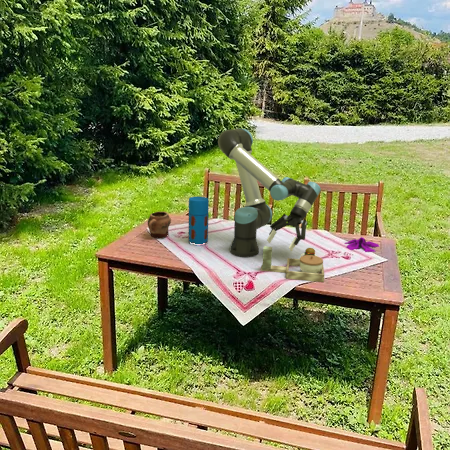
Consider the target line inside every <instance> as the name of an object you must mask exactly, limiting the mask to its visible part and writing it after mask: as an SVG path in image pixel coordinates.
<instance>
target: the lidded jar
mask: <svg viewBox="0 0 450 450" xmlns="http://www.w3.org/2000/svg"><path fill="white" fill-rule="evenodd" d="M299 259H300V266H299V268H300V272H306V273H317V274H321V273H320V271H321V269H322V265H323V266H324V260H323V258H322V257H320V256H319V255H317V256H313V255H302V256H301V255H300V257H299Z"/></svg>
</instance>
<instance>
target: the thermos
mask: <svg viewBox="0 0 450 450" xmlns="http://www.w3.org/2000/svg"><path fill="white" fill-rule="evenodd" d="M209 204H210V203H209V198H208V197H205V196H191V197H189V198H188V242H189V241H190V242H191V243H195V244H203V243H207V242H209V212H210V211H209V206H210V205H209ZM207 244H208V243H207Z"/></svg>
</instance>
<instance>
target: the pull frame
mask: <svg viewBox="0 0 450 450" xmlns="http://www.w3.org/2000/svg"><path fill="white" fill-rule="evenodd" d="M272 256H273V246H267V245H266V246H265V245H264V246H263V248H262V264H261V267H260V271H262V272H271V273H272V272H273V273H284V274H285V279H287V280H295V281H296V280H297V281H307V282H319V283H324V282H325V269H324V268H325V267H324V264H323V265H322V269H321V271H320V273H319V274H317V273H306V272H302V271H296V270H295V271H294V270H290V267H291V266H292V267H300V258H291V257H290V258H289V257H287V259H286V261H287V262H286V266H284V265H283V266H281V265H272Z"/></svg>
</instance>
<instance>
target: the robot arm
mask: <svg viewBox="0 0 450 450" xmlns="http://www.w3.org/2000/svg"><path fill="white" fill-rule="evenodd" d="M217 139H218V140H217V143H218V148H219V149H220V151H221V152H222V154H224V155H225V156H226V157H227V158H228V159H229V160H234V162H235V164H236V165H235V166H236V168H237V173H238V176H239V180H240V183H241V188H242V190H243V194H244V198H245V204H244V206H241V207H238V208H237V209H236V210H235V213H234V223H233V224H234V227H233V229H234V231H233V234H234V235H233V236H234V237H233V239H232V242H231V245H230V249H229V252H230V254H232V255H233V256H236V257H240V258H241V257H242V258H251V257H256V256H257V255H259V252H260V247H259V244H258V240H257V230H258V229H260V228H263V227H265V226H267V225H268V224H269V223H270V221H271V220H272V217H273V211H272V208H271V207H270V206H269V205H268V204H267V203H266V202H267V201H266V200H265V199H264V198H263V197H262V195H261V194H262V193H261V191H260V187H259V183H260V184H261V185H262V186H264V188H265V189H267V190H268V192H269V194H270V196H271V198H272V199H273V200H275V201H278V202H279V201H283V200H285V199H287V198H289V197H291V196H293V197H296V198H298V199H297V200H296V202H295V204H294V206H293V207H292V209H291V211H290V212H289V214H288V215H287V214H286V213H283V215H282V216H280V217H279V218H278V219H277V220H276V221H274V222H273V223H272V224H270V225H269V227H270V229H271V230H270V231H269V233H268V237H267V239H266V242H267V243H269V244H271V243H272V242H273V241H272V240H273V239H274V238H275V236H276V235H277V231H280V230H281V229H283V228H285V227H288V226H290V227H293V228H294V229H295V232H296V236H295V237H294V238H293V240H292V241H291V243H290V245H289V246H288V249H289V251H291V252H293V250H294V248H295V247H296V246H298V245H299V243H300V241H301V240H303V241H305V240H306V234H307V233H306V232H307V231H306V230H307V225H308V221H307V220H306V219H305V218H306V217H307V215H308V213H309V211H310V210H311V208H312V206H313V205H314V203H315V202H316V200H317V198H318V197H319V194H320V193H321V190H322V189H321V186H320V185H319V184H318V183H317V182H315V181H308V183H306V184H305V183H302V182H300V181H298V180H296V179H294V178H292V177H291V178H290V177H288V176H286V177H285V176H284V177H283V178H282V179H280V178H279V177H278V176H277V175H275V174H274V173H273V172H272V171H270V169H268V168H267V167H266V166H265V165H264V164H262V162H260V161H259V160H258V159H257V158H255V157H254V156H253V155H252V152H253V148H252V146H253V143H254V138H253V135H252V133H251V132H250V131H249V130H248V129H246V128H240V127H239V128H238V127H237V128H234V129H233V128H232V129H227V130H226V129H225V130H224V131H222V132H221V133H220V134H219V136H218V138H217ZM258 182H259V183H258ZM300 225H301V229H300Z"/></svg>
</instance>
